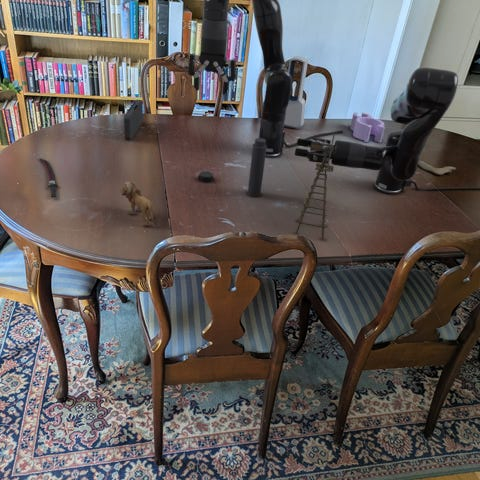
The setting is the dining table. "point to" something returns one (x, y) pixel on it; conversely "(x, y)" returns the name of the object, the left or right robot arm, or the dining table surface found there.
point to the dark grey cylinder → (257, 167)
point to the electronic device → (296, 104)
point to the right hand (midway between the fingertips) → (296, 146)
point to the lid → (206, 176)
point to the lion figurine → (137, 201)
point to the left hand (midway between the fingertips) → (210, 91)
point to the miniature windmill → (320, 169)
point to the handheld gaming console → (133, 119)
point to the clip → (367, 127)
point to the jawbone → (435, 170)
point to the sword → (52, 181)
